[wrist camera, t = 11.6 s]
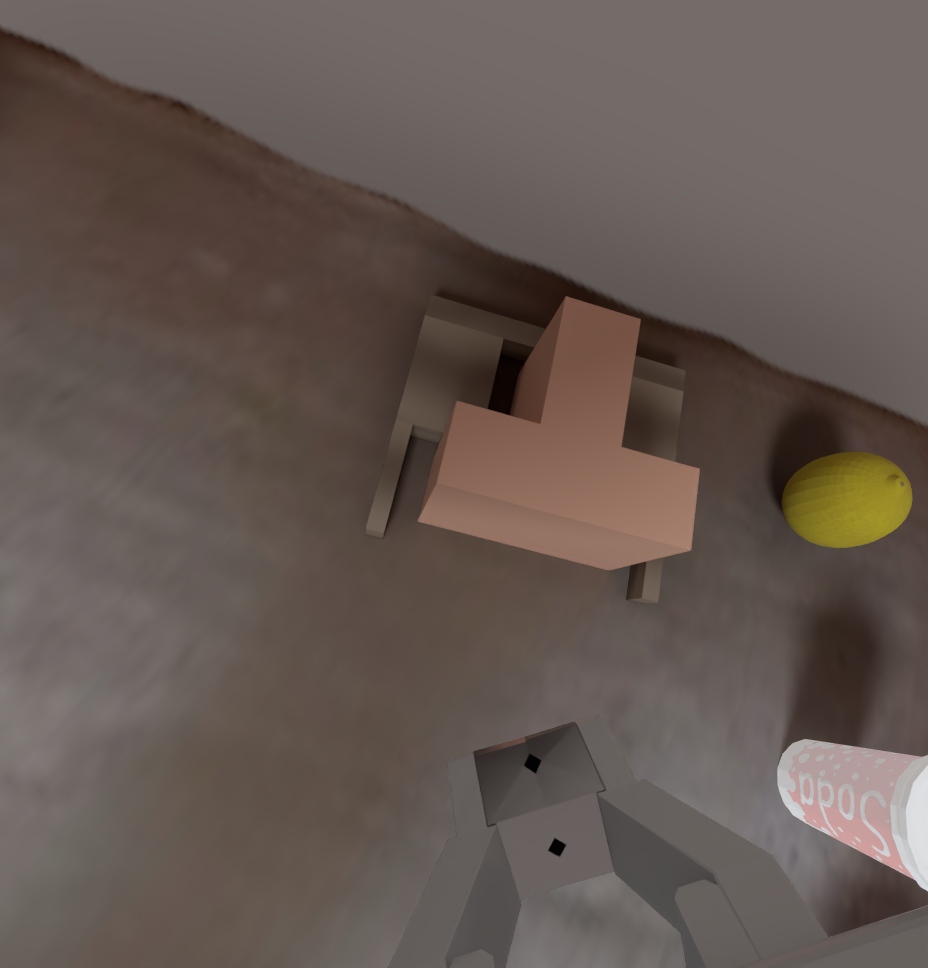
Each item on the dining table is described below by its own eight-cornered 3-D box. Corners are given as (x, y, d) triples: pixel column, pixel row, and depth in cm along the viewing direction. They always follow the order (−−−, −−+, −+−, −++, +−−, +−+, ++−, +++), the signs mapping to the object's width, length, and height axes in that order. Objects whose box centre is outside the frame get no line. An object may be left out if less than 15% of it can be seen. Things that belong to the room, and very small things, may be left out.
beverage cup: (775, 710, 34) (1040, 760, 21) (864, 745, 35) (1180, 816, 21) (756, 819, 32) (1033, 951, 19) (851, 854, 33) (1187, 1007, 19)
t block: (609, 570, 35) (691, 550, 26) (417, 521, 33) (436, 483, 25) (633, 407, 38) (713, 341, 29) (458, 357, 36) (488, 272, 28)
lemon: (799, 573, 37) (913, 557, 29) (739, 508, 37) (836, 476, 29) (844, 518, 38) (965, 490, 31) (787, 457, 39) (891, 414, 31)
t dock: (641, 603, 34) (658, 602, 32) (365, 534, 33) (365, 528, 31) (670, 383, 39) (685, 370, 37) (427, 311, 37) (430, 294, 35)
